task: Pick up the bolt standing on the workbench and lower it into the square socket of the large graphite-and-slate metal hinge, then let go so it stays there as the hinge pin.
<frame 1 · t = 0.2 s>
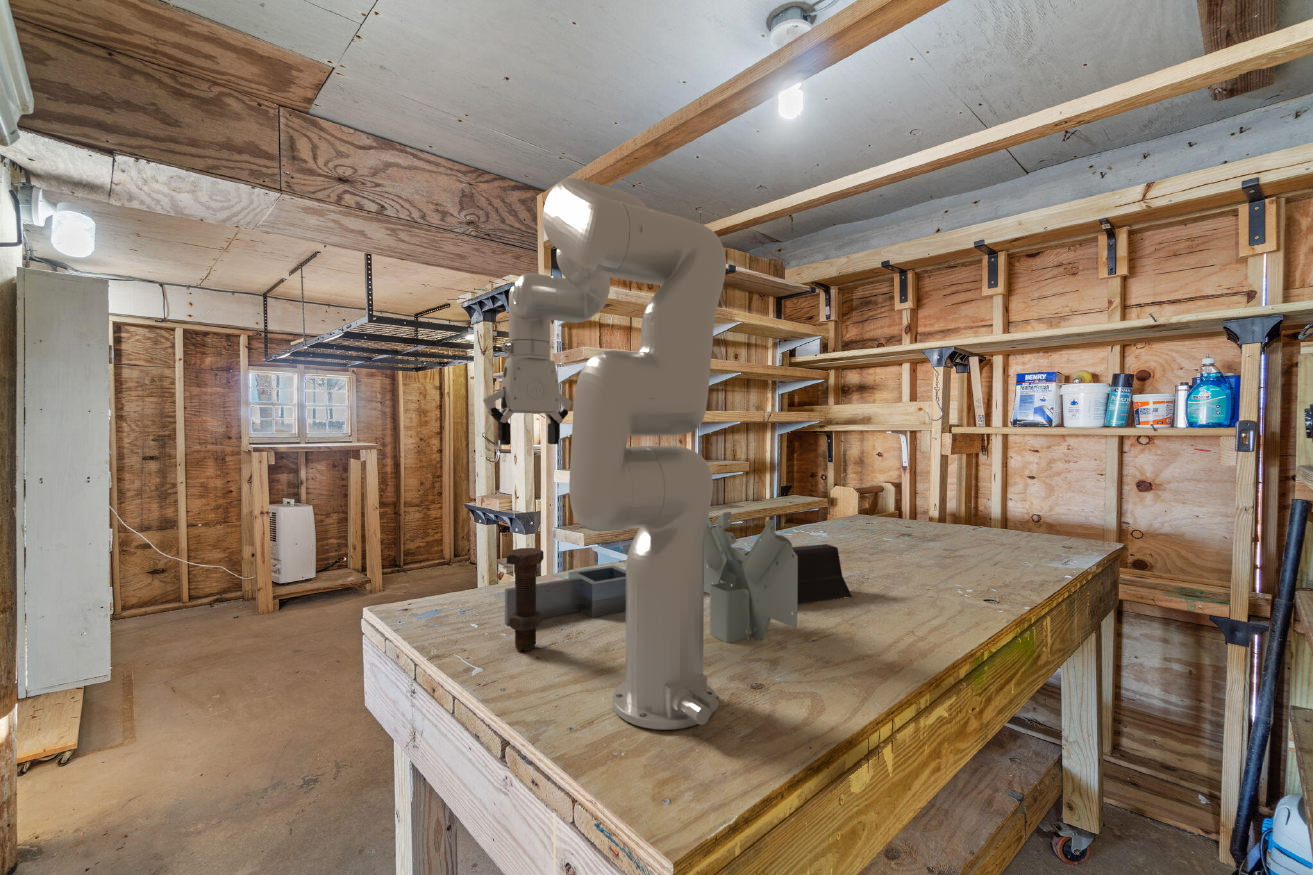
hand: (529, 444, 105), 31 cm above the table, tool pointing down, fingers open, 9 cm apart
bolt: (525, 649, 86), on the table
bracket: (734, 635, 92), on the table
barrier: (791, 599, 112), on the table
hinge: (603, 605, 107), on the table
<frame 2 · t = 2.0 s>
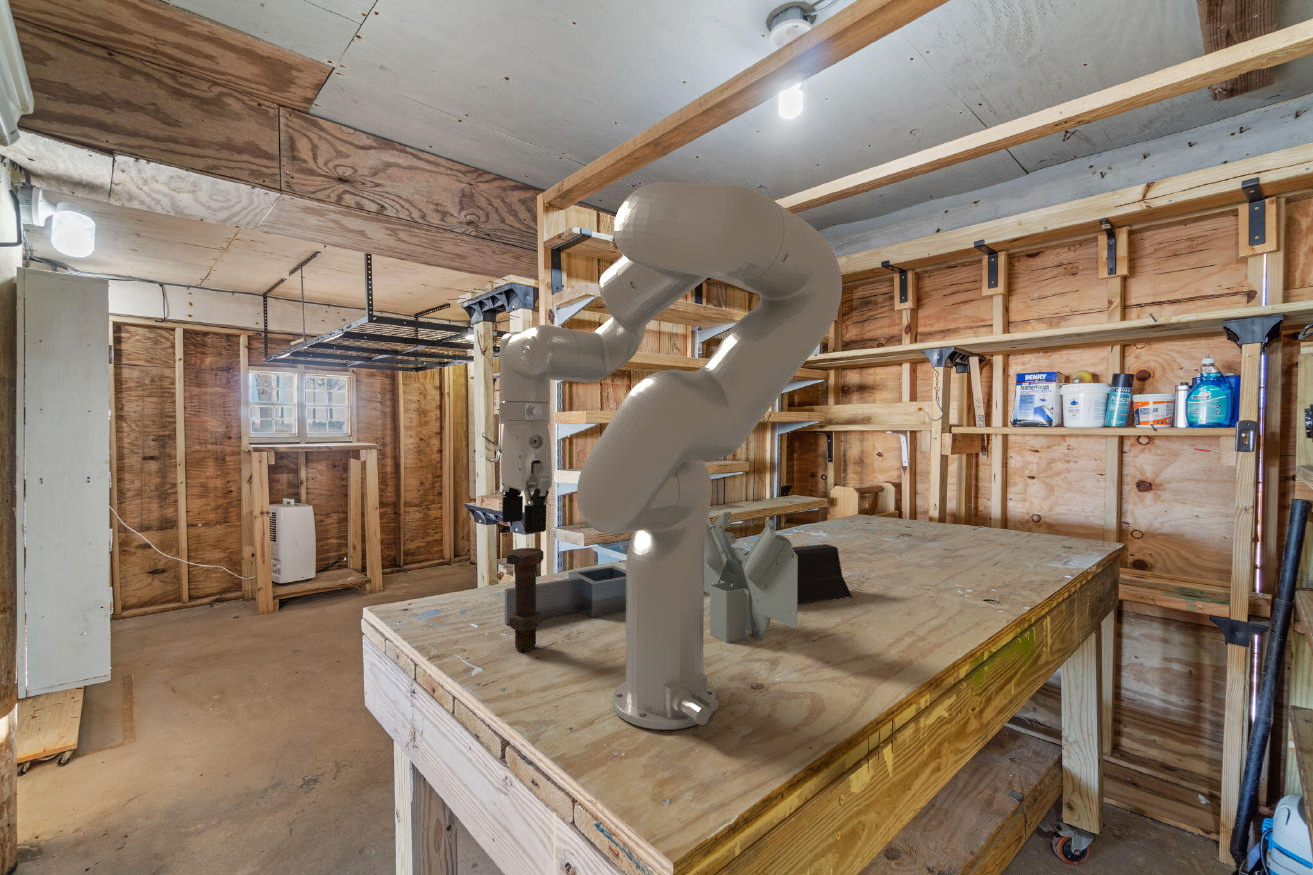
hand: (523, 526, 86), 19 cm above the table, tool pointing down, fingers open, 9 cm apart
nothing on the table moved.
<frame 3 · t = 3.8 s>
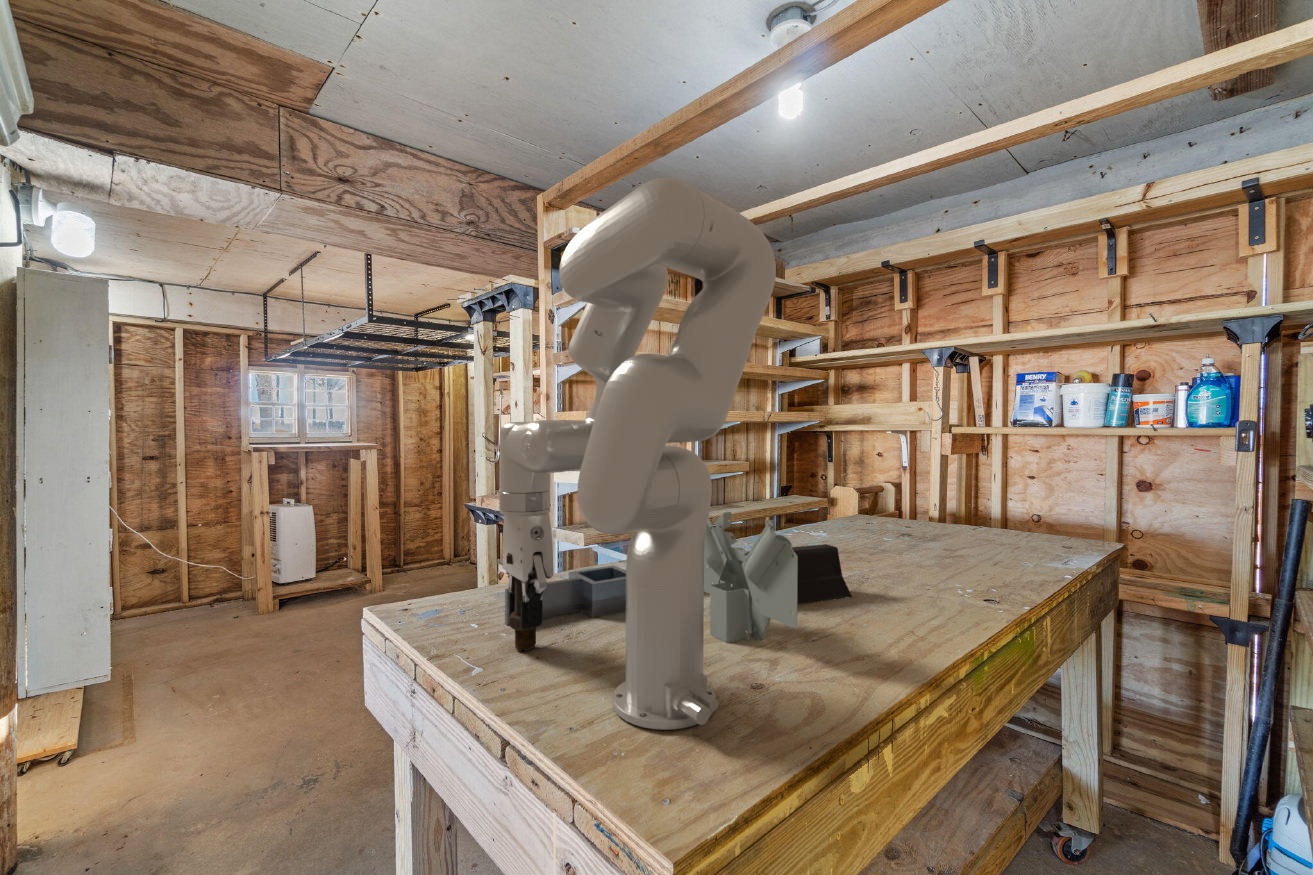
hand: (525, 620, 86), 4 cm above the table, tool pointing down, fingers closed on bolt, 4 cm apart
bolt: (525, 649, 86), on the table, touching gripper
everything else where it was.
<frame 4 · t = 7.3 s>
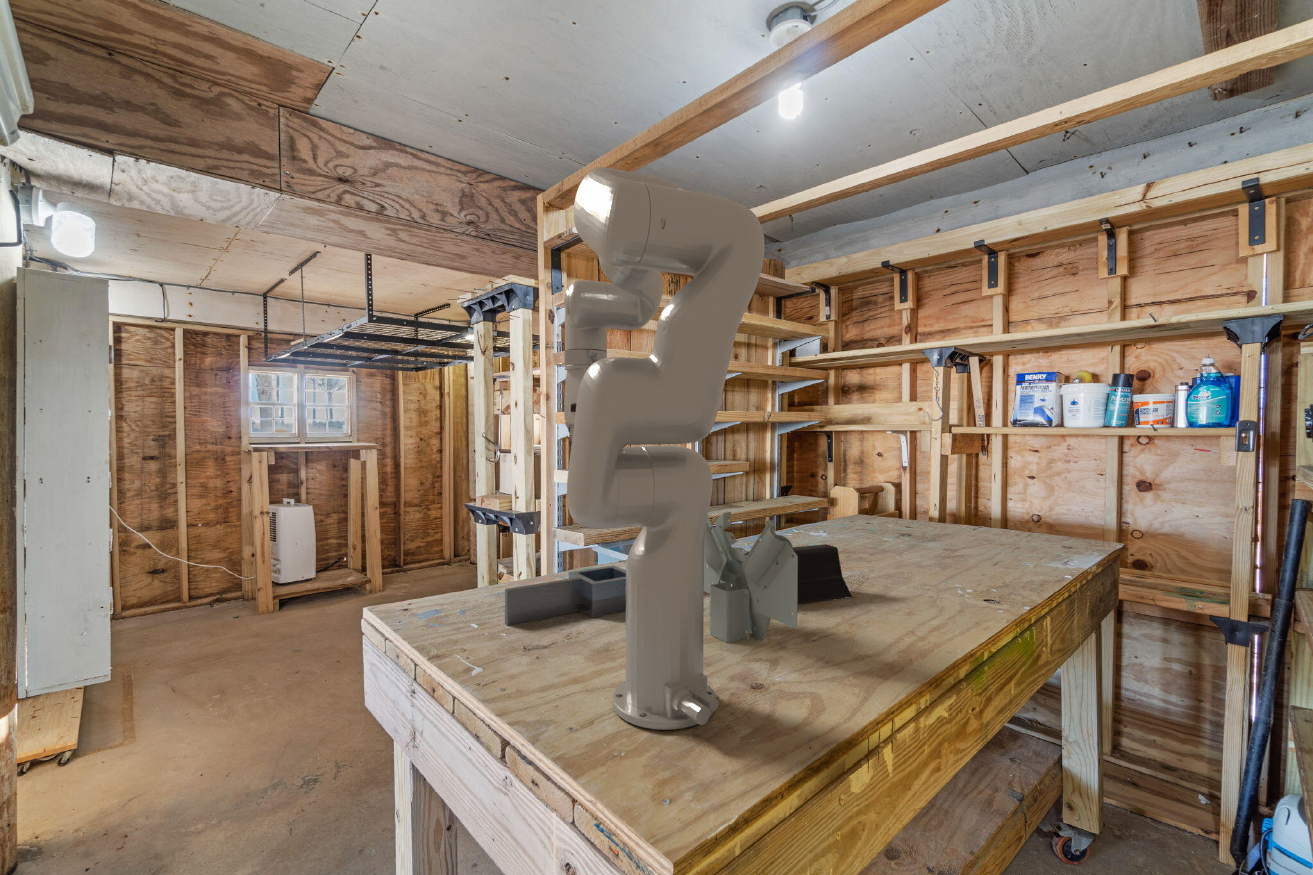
hand: (585, 462, 101), 28 cm above the table, tool pointing down, fingers closed on bolt, 4 cm apart
bolt: (585, 487, 101), point 23 cm above the table, touching gripper
everything else where it was.
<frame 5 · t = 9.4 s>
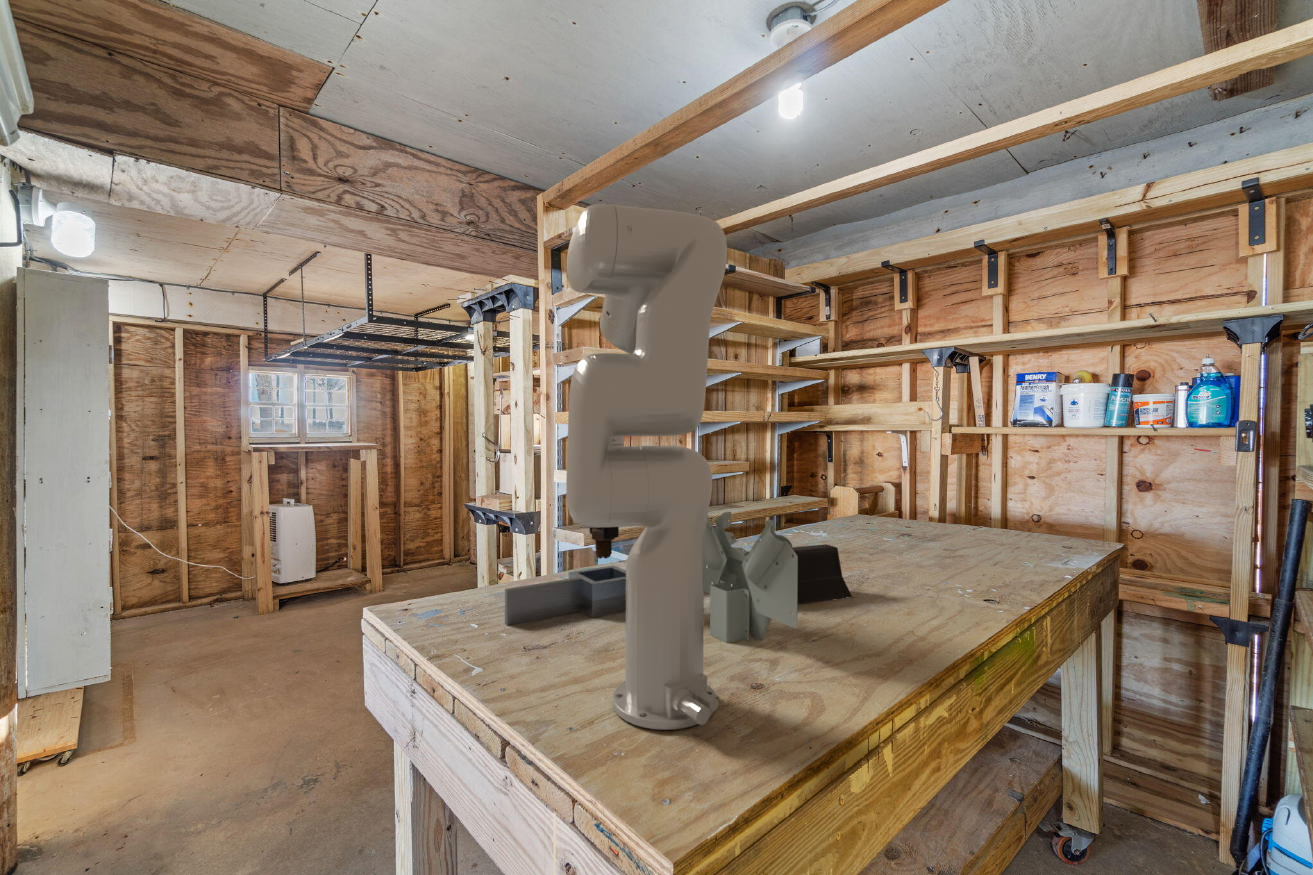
hand: (603, 534, 107), 14 cm above the table, tool pointing down, fingers closed on bolt, 4 cm apart
bolt: (603, 558, 107), point 9 cm above the table, touching gripper
everything else where it was.
when the fingers open (8 cm above the table, at t = 11.1 s): bolt drops 3 cm, resting in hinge.
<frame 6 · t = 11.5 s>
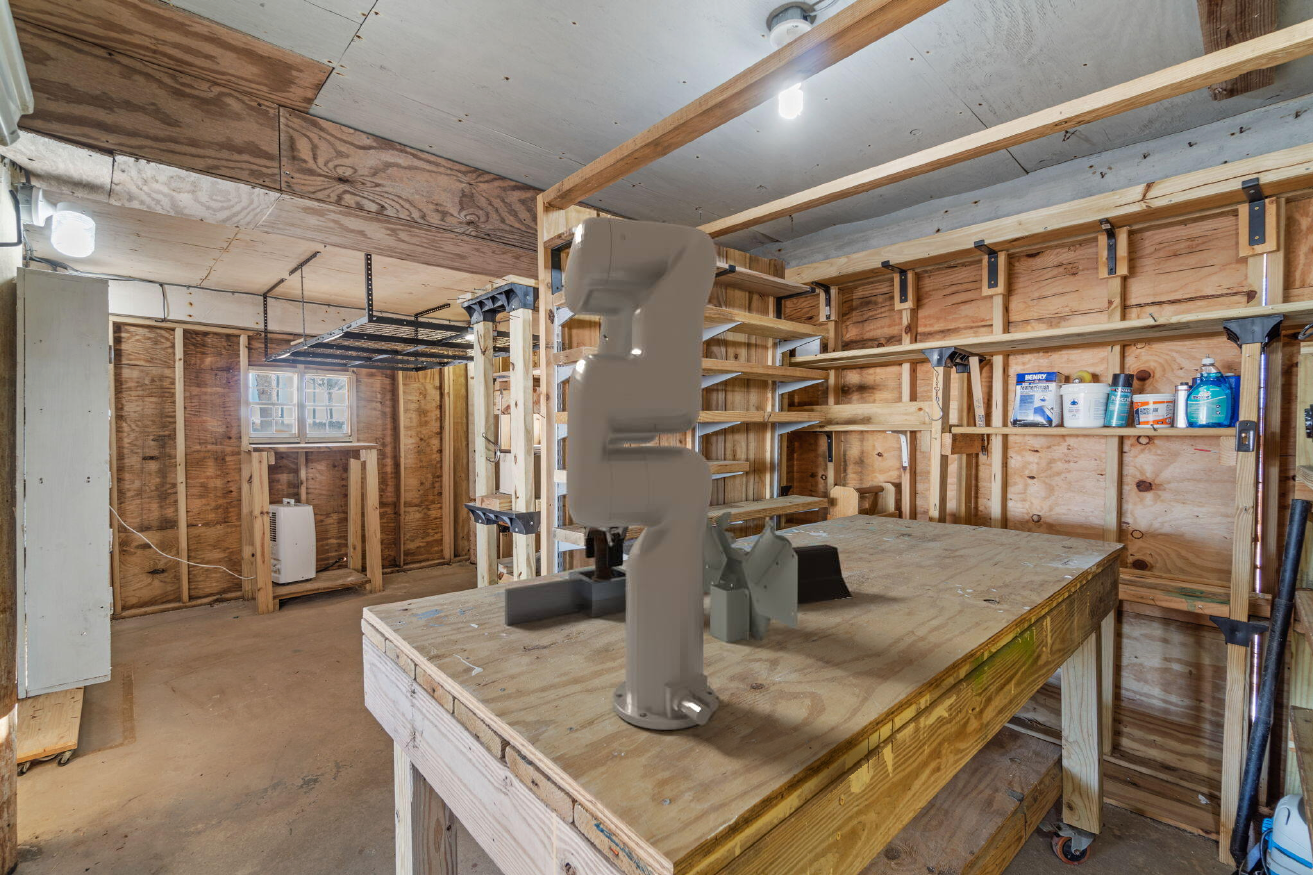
hand: (603, 561, 107), 8 cm above the table, tool pointing down, fingers open, 8 cm apart
bolt: (603, 606, 107), resting in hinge
everything else where it was.
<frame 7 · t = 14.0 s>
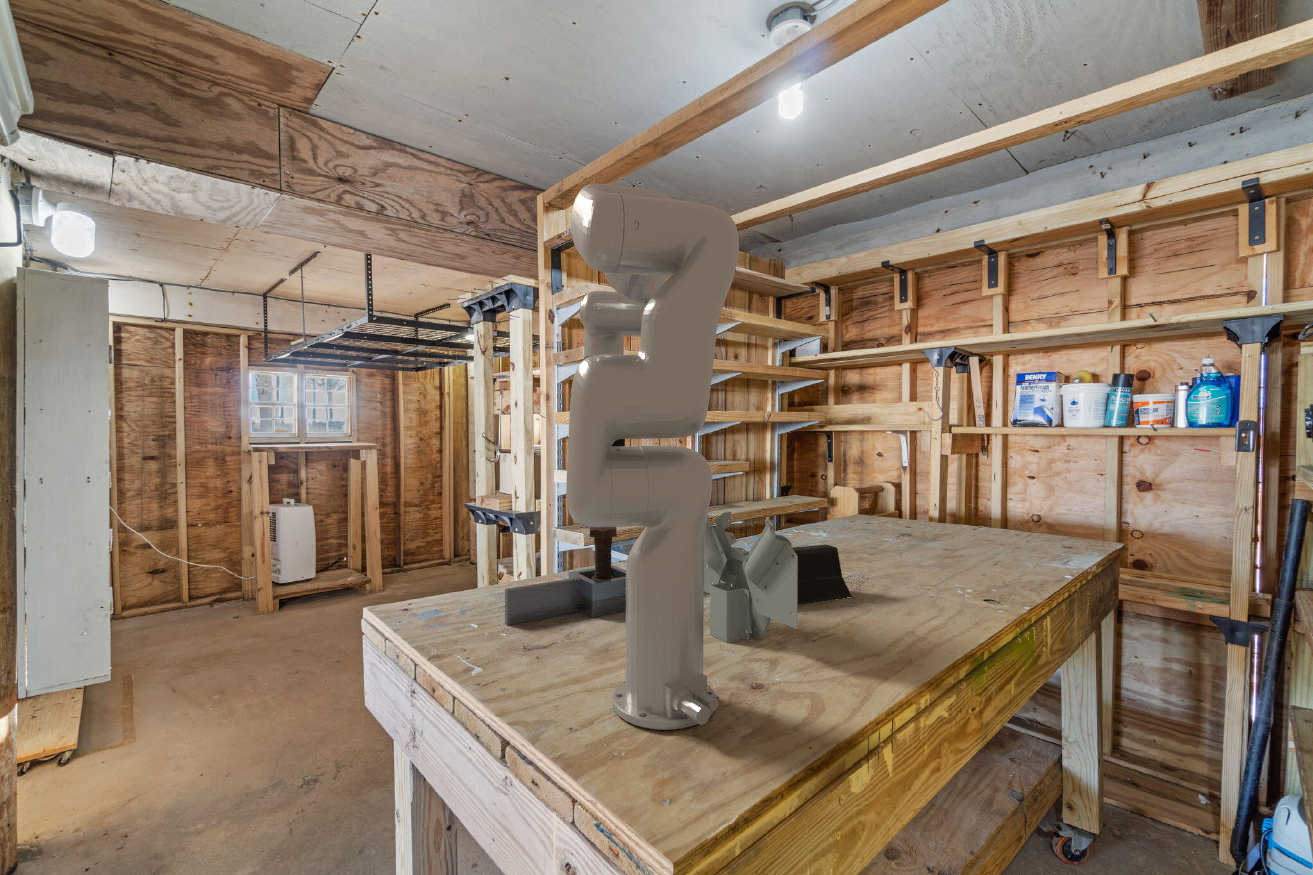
hand: (603, 458, 106), 28 cm above the table, tool pointing down, fingers open, 9 cm apart
nothing on the table moved.
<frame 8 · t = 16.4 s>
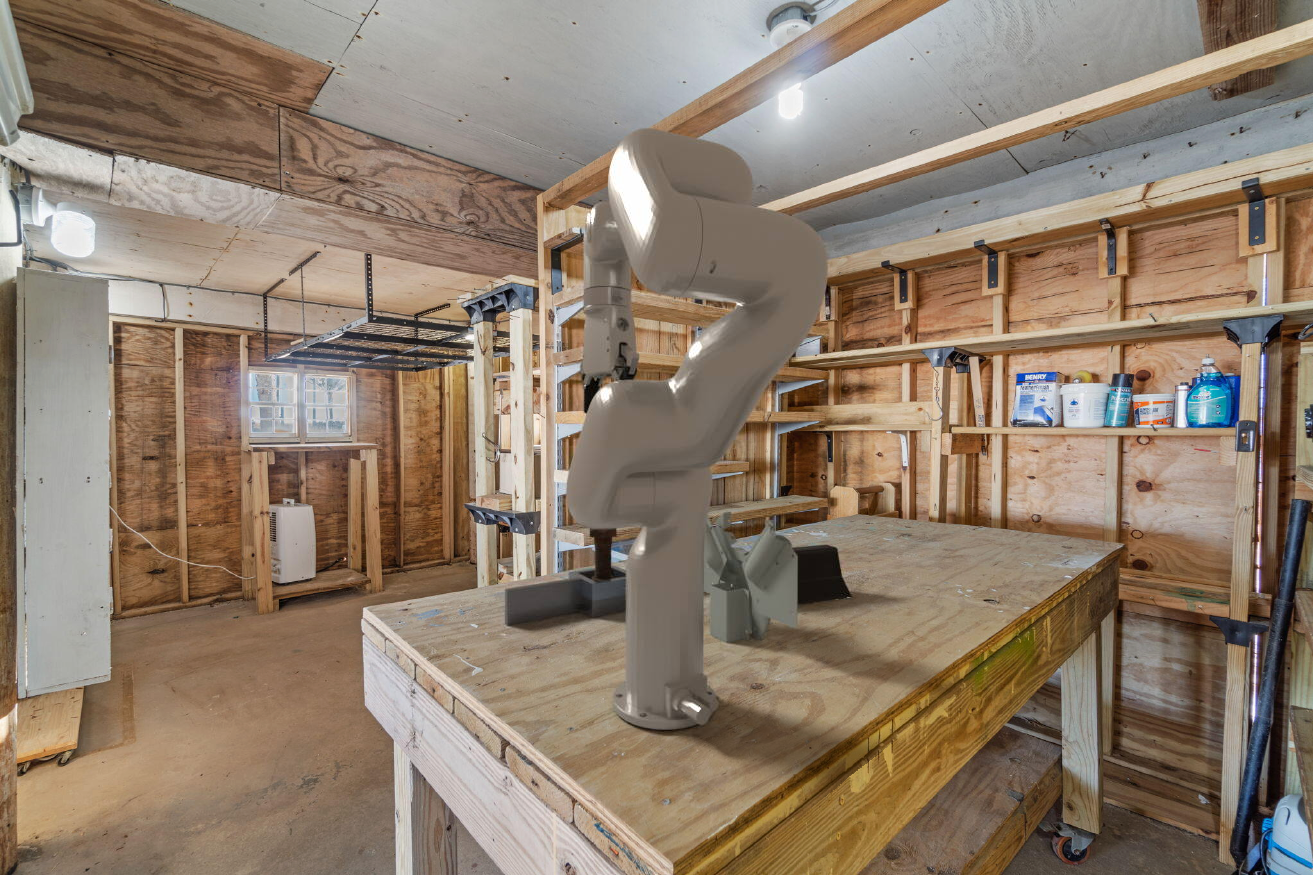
hand: (607, 412, 89), 36 cm above the table, tool pointing down, fingers open, 9 cm apart
nothing on the table moved.
at the end: bolt 0.1 cm off-centre on the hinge, point 0.0 cm above the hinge's base; bolt tilted 0°; the gripper is holding nothing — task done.
